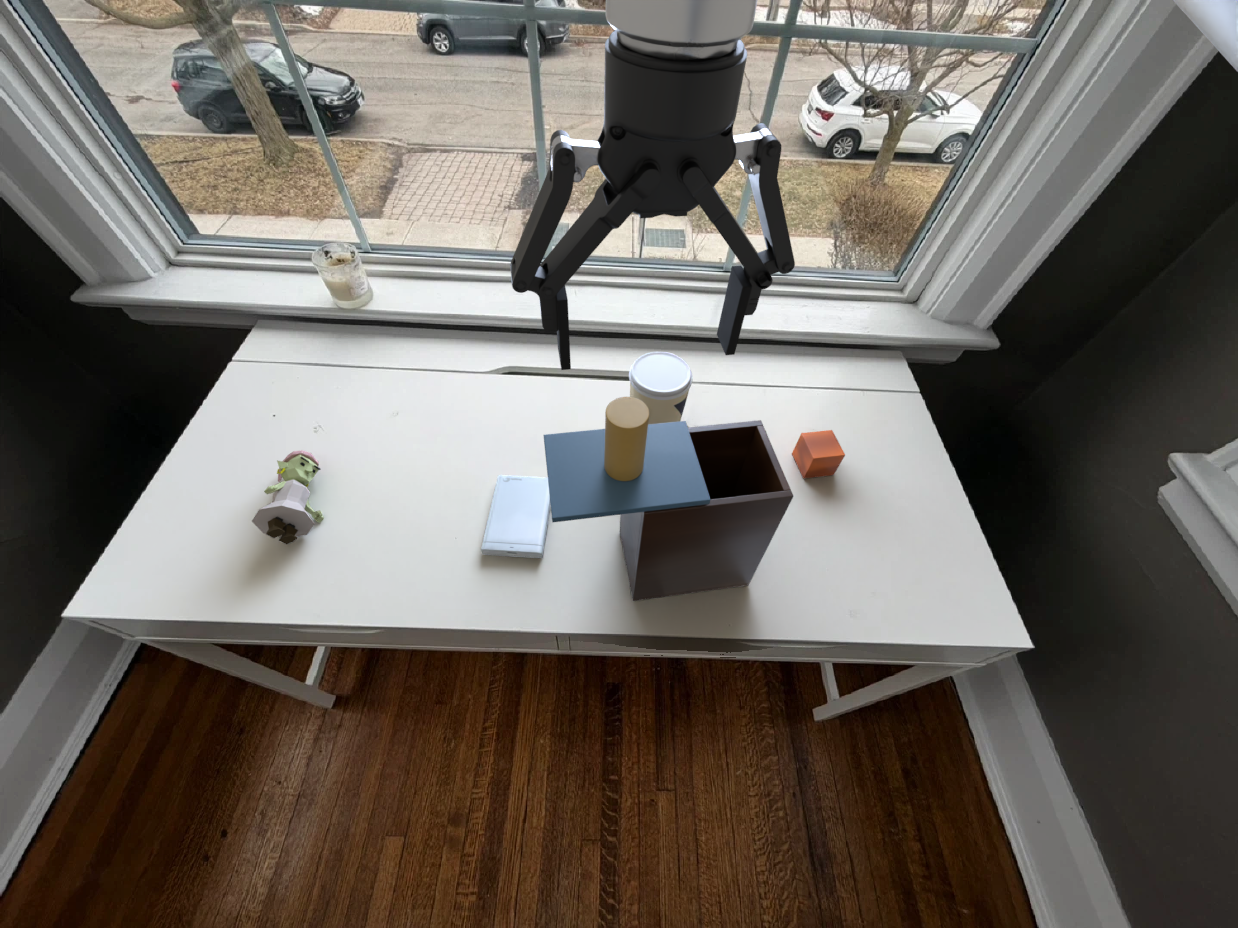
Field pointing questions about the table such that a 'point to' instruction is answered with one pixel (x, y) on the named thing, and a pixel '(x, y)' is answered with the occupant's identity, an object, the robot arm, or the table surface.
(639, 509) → the sliding lid
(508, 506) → the hard drive
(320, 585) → the table surface
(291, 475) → the figurine
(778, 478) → the box
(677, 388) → the coffee cup
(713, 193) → the robot arm
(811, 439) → the block
